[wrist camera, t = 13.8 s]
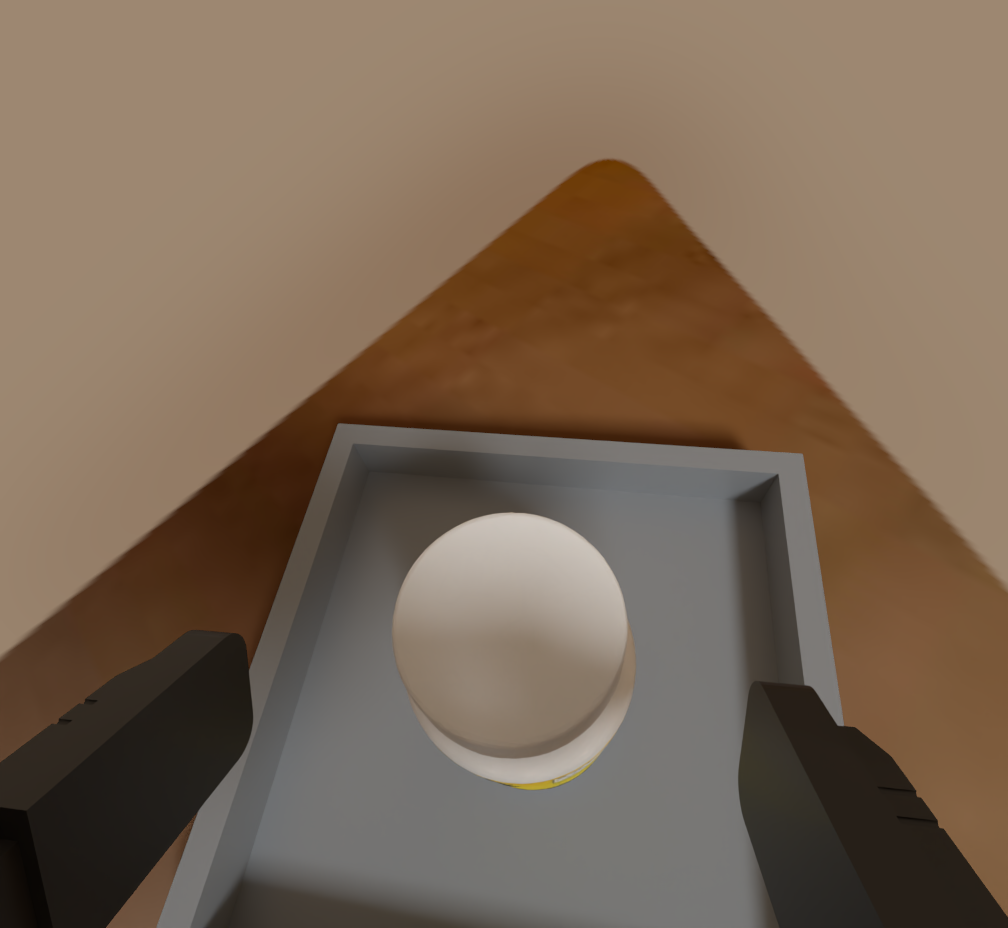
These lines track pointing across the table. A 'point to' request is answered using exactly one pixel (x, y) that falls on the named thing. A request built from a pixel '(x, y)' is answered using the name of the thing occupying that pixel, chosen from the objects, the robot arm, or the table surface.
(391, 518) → the tray
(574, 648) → the supplement bottle
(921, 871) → the robot arm
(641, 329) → the table surface
